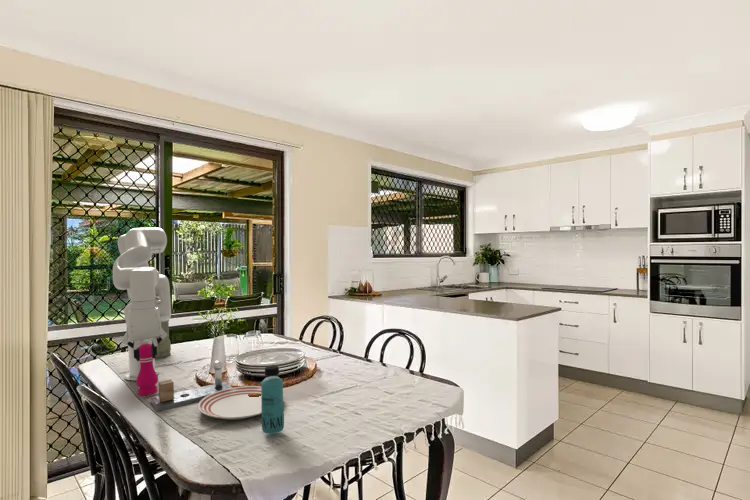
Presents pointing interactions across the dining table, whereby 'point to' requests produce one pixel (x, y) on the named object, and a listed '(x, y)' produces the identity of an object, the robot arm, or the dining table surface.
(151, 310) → the robot arm
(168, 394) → the block
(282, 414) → the beverage bottle
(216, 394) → the dinner plate
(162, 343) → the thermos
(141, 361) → the pepper mill
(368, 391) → the dining table surface
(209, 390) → the plate
